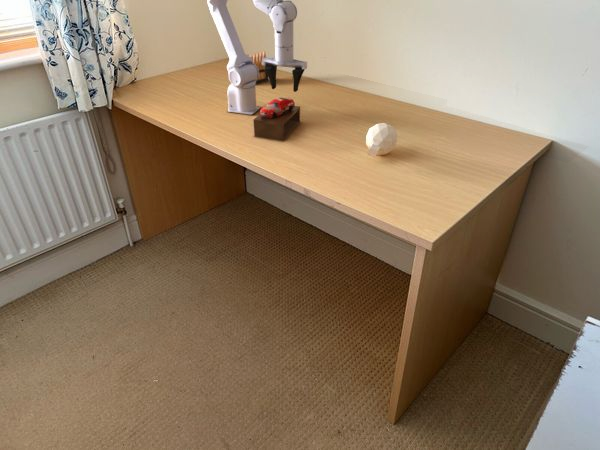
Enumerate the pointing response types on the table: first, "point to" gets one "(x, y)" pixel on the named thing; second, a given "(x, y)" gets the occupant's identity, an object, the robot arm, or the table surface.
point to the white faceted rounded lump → (381, 139)
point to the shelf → (277, 125)
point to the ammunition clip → (260, 67)
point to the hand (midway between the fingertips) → (284, 89)
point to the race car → (277, 107)
